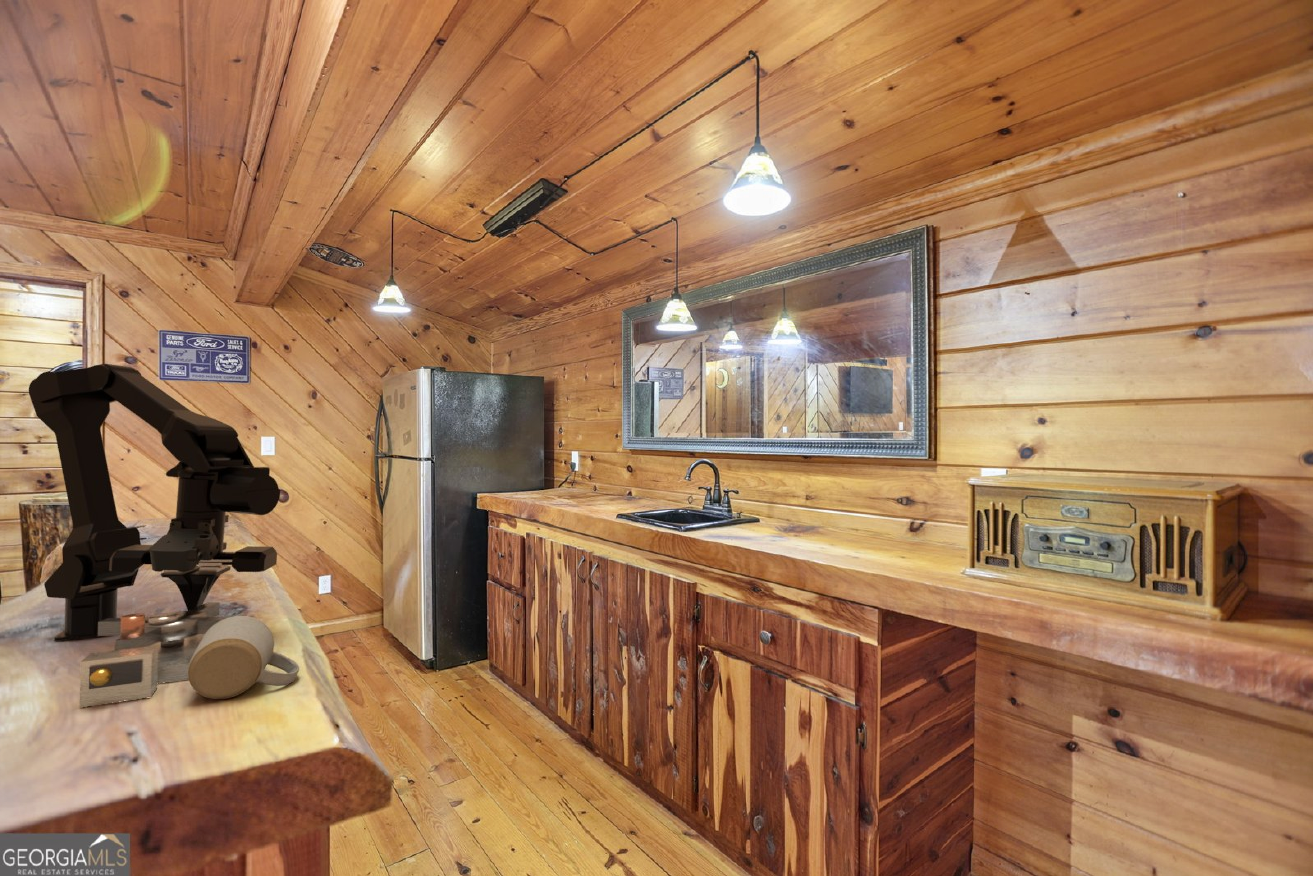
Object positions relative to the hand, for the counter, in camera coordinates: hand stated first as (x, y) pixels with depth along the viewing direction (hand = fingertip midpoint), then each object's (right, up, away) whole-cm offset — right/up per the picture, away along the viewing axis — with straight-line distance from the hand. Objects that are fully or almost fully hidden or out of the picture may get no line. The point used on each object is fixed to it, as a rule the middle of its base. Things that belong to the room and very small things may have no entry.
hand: (193, 618), depth 86 cm
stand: (+4, -3, -10) cm, 11 cm away
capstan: (+3, 0, -7) cm, 8 cm away
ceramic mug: (+18, -4, -15) cm, 23 cm away
